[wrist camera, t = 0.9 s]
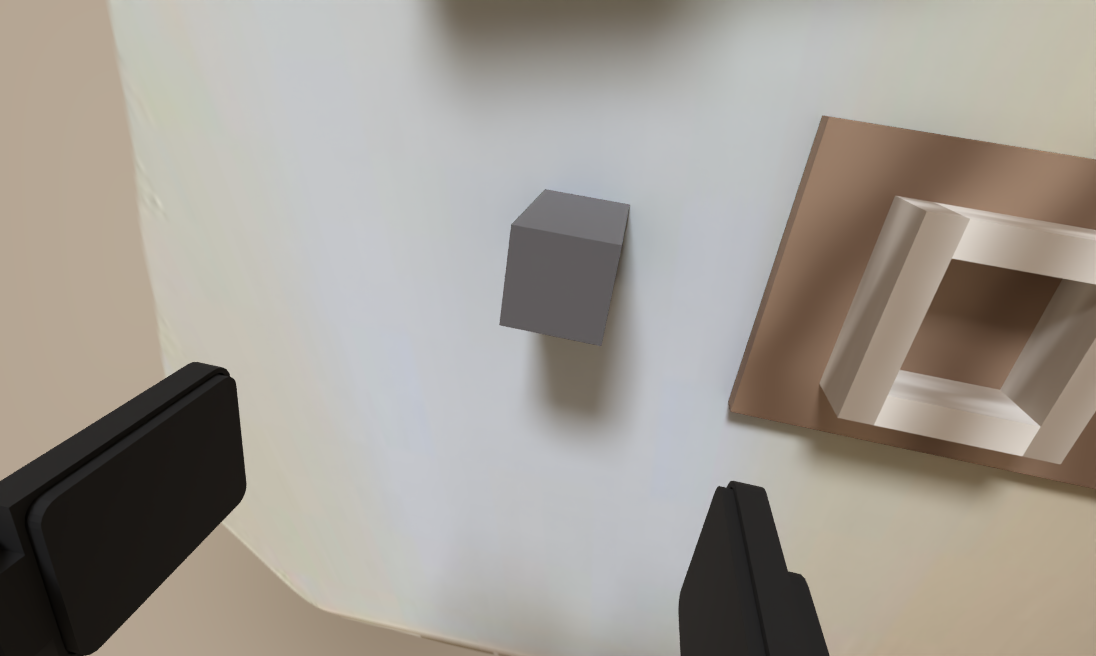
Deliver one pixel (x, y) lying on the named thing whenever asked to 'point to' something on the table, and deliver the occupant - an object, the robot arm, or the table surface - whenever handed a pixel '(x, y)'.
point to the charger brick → (563, 266)
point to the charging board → (935, 301)
